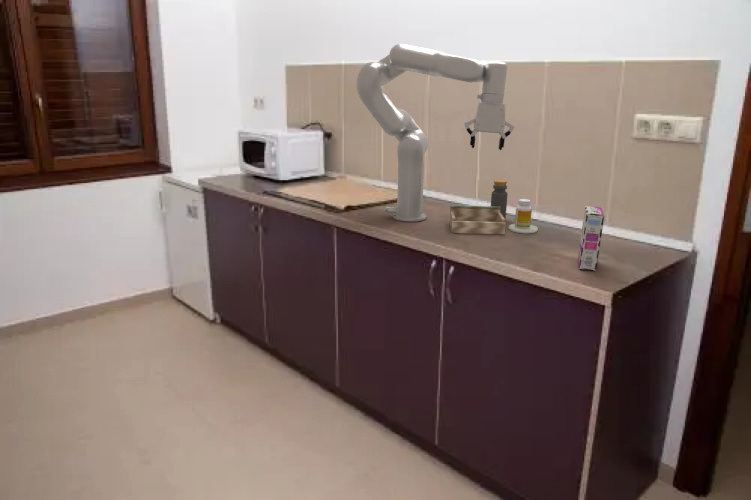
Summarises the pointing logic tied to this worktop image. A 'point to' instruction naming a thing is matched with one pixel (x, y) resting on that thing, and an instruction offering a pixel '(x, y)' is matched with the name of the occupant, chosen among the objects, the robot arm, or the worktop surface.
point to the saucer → (524, 231)
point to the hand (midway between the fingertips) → (486, 148)
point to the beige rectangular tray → (476, 220)
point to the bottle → (500, 196)
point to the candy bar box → (590, 238)
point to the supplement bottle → (523, 214)
